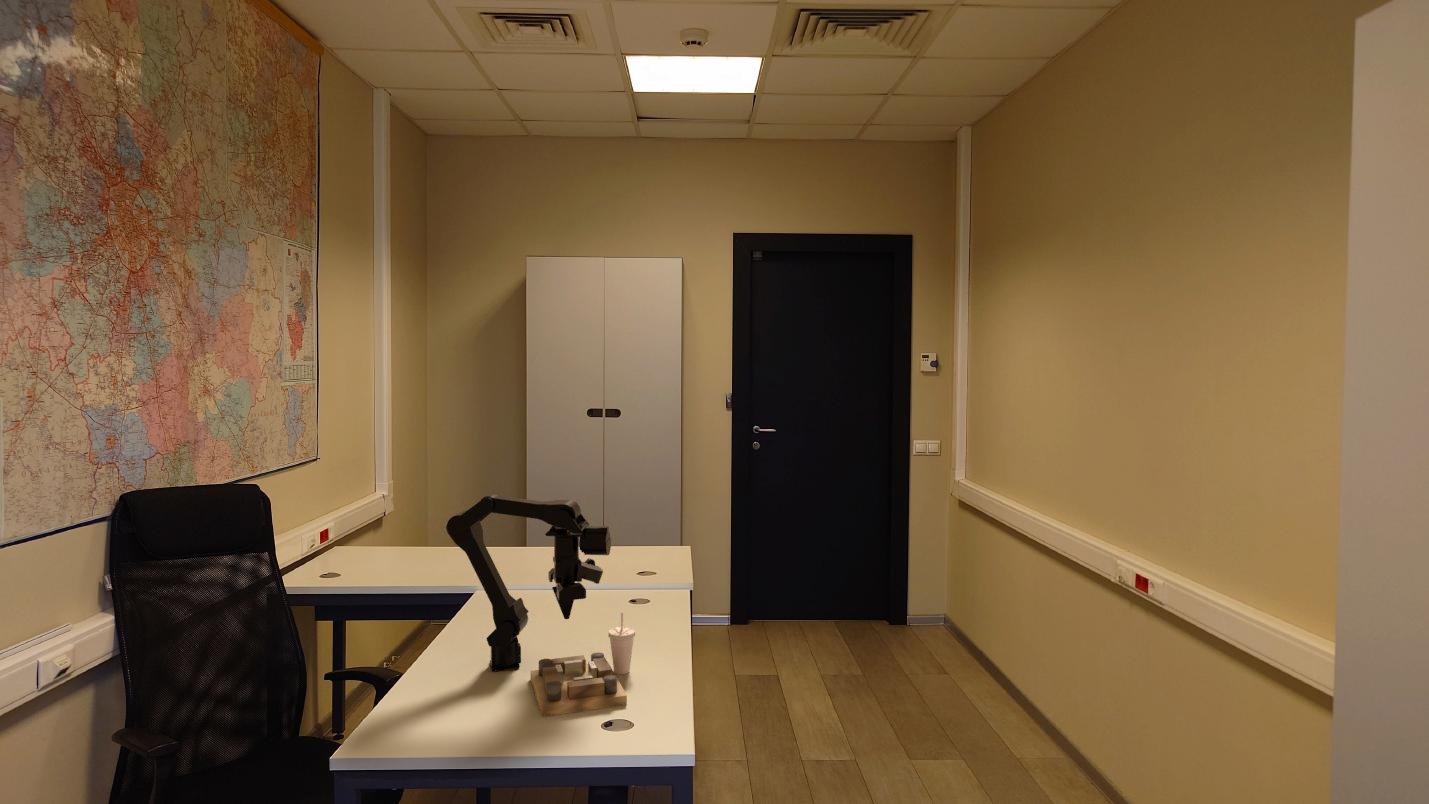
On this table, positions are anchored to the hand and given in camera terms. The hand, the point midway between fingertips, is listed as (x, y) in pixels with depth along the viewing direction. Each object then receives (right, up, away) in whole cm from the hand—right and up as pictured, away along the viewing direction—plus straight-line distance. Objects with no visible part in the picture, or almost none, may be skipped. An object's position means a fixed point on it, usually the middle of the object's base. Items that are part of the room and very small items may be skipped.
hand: (566, 618), depth 187 cm
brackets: (+5, -11, -12) cm, 17 cm away
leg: (0, -11, -16) cm, 20 cm away
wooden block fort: (+5, -13, -12) cm, 18 cm away
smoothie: (+13, -12, -1) cm, 18 cm away
